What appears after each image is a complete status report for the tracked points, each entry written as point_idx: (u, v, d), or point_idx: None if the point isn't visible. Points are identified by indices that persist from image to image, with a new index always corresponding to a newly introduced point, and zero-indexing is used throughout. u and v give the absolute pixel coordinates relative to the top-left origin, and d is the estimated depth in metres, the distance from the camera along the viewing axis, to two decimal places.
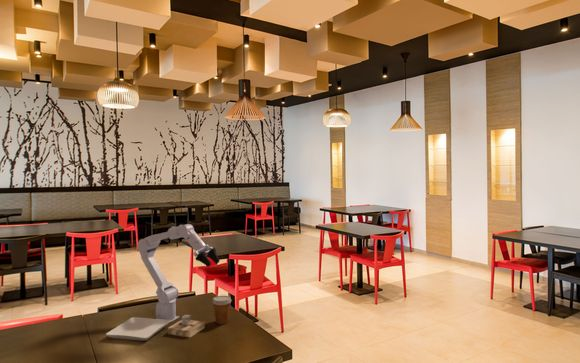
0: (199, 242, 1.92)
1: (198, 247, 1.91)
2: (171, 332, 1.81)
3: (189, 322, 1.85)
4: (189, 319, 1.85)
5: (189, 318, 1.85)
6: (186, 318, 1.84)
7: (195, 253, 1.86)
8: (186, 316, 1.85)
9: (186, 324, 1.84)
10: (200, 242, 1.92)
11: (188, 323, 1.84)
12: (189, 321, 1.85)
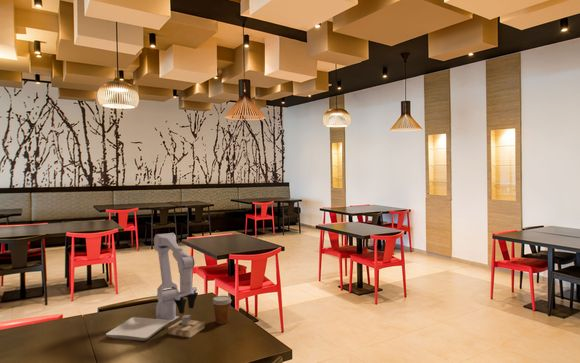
0: (188, 285, 1.83)
1: (184, 289, 1.82)
2: (171, 332, 1.81)
3: (189, 322, 1.85)
4: (189, 319, 1.85)
5: (189, 318, 1.85)
6: (186, 318, 1.84)
7: (177, 297, 1.78)
8: (186, 316, 1.85)
9: (186, 324, 1.84)
10: (189, 286, 1.83)
11: (188, 323, 1.84)
12: (189, 321, 1.85)
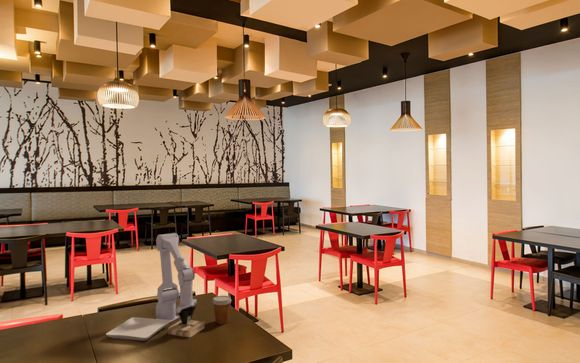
0: (188, 298, 1.83)
1: (184, 302, 1.83)
2: (171, 332, 1.81)
3: (189, 322, 1.85)
4: (189, 319, 1.85)
5: (189, 318, 1.85)
6: None
7: (177, 310, 1.79)
8: None
9: (186, 324, 1.84)
10: (189, 298, 1.83)
11: (188, 323, 1.84)
12: (189, 321, 1.85)
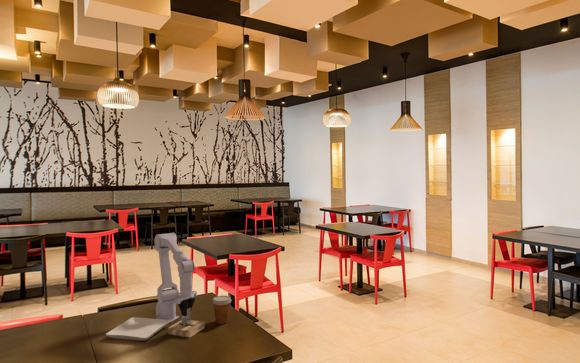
0: (188, 289, 1.83)
1: (184, 293, 1.83)
2: (171, 332, 1.81)
3: (189, 314, 1.85)
4: (189, 311, 1.85)
5: (189, 310, 1.85)
6: None
7: (177, 301, 1.79)
8: None
9: (186, 316, 1.84)
10: (189, 290, 1.83)
11: (188, 315, 1.84)
12: (189, 313, 1.85)
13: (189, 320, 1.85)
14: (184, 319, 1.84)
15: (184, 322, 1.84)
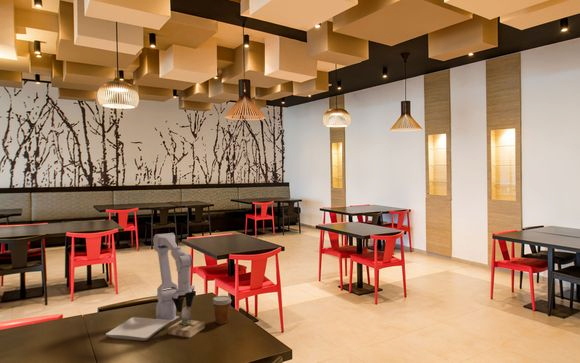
0: (186, 284, 1.83)
1: (182, 288, 1.83)
2: (171, 332, 1.81)
3: (189, 314, 1.85)
4: (189, 311, 1.85)
5: (189, 310, 1.85)
6: (186, 310, 1.84)
7: (175, 296, 1.79)
8: (186, 308, 1.85)
9: (186, 316, 1.84)
10: (187, 284, 1.84)
11: (188, 315, 1.84)
12: (189, 313, 1.85)
13: (189, 320, 1.85)
14: (184, 319, 1.84)
15: (184, 322, 1.84)
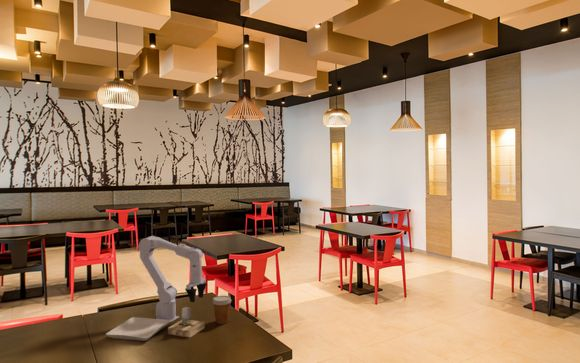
0: (198, 276, 1.98)
1: (194, 280, 1.97)
2: (171, 332, 1.81)
3: (189, 314, 1.85)
4: (189, 311, 1.85)
5: (189, 310, 1.85)
6: (186, 310, 1.84)
7: (188, 287, 1.93)
8: (186, 308, 1.85)
9: (186, 316, 1.84)
10: (199, 276, 1.98)
11: (188, 315, 1.84)
12: (189, 313, 1.85)
13: (189, 320, 1.85)
14: (184, 319, 1.84)
15: (184, 322, 1.84)
